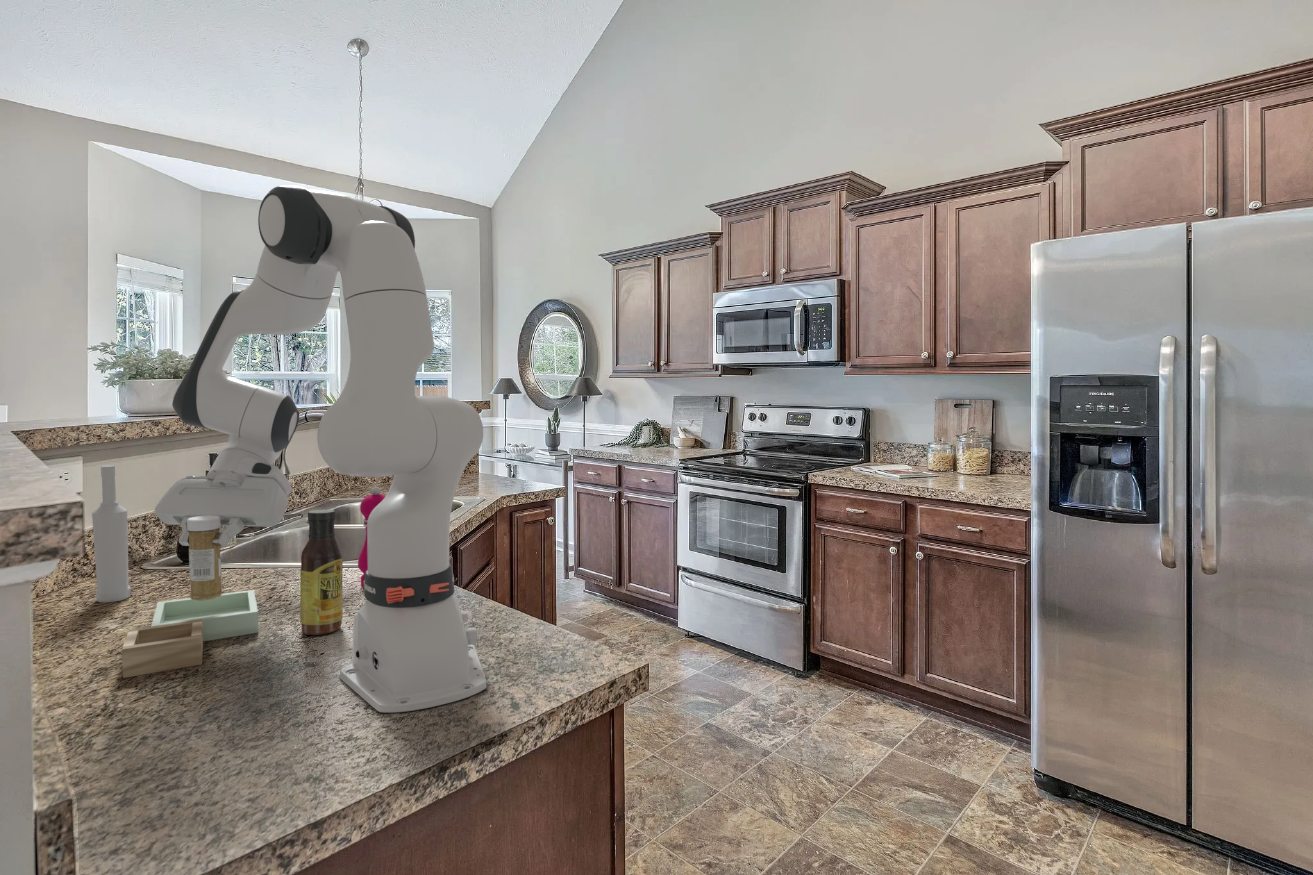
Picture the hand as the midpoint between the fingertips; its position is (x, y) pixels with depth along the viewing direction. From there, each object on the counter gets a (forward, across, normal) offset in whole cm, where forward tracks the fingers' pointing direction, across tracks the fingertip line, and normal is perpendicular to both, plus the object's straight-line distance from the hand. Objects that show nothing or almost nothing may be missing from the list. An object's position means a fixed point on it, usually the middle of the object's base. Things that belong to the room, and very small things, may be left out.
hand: (201, 544), depth 112 cm
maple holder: (+19, +3, +1) cm, 19 cm away
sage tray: (+10, 0, +10) cm, 14 cm away
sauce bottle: (+10, +20, +10) cm, 24 cm away
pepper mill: (-9, +17, +30) cm, 35 cm away
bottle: (0, -27, +21) cm, 34 cm away
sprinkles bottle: (+6, 0, +7) cm, 9 cm away
